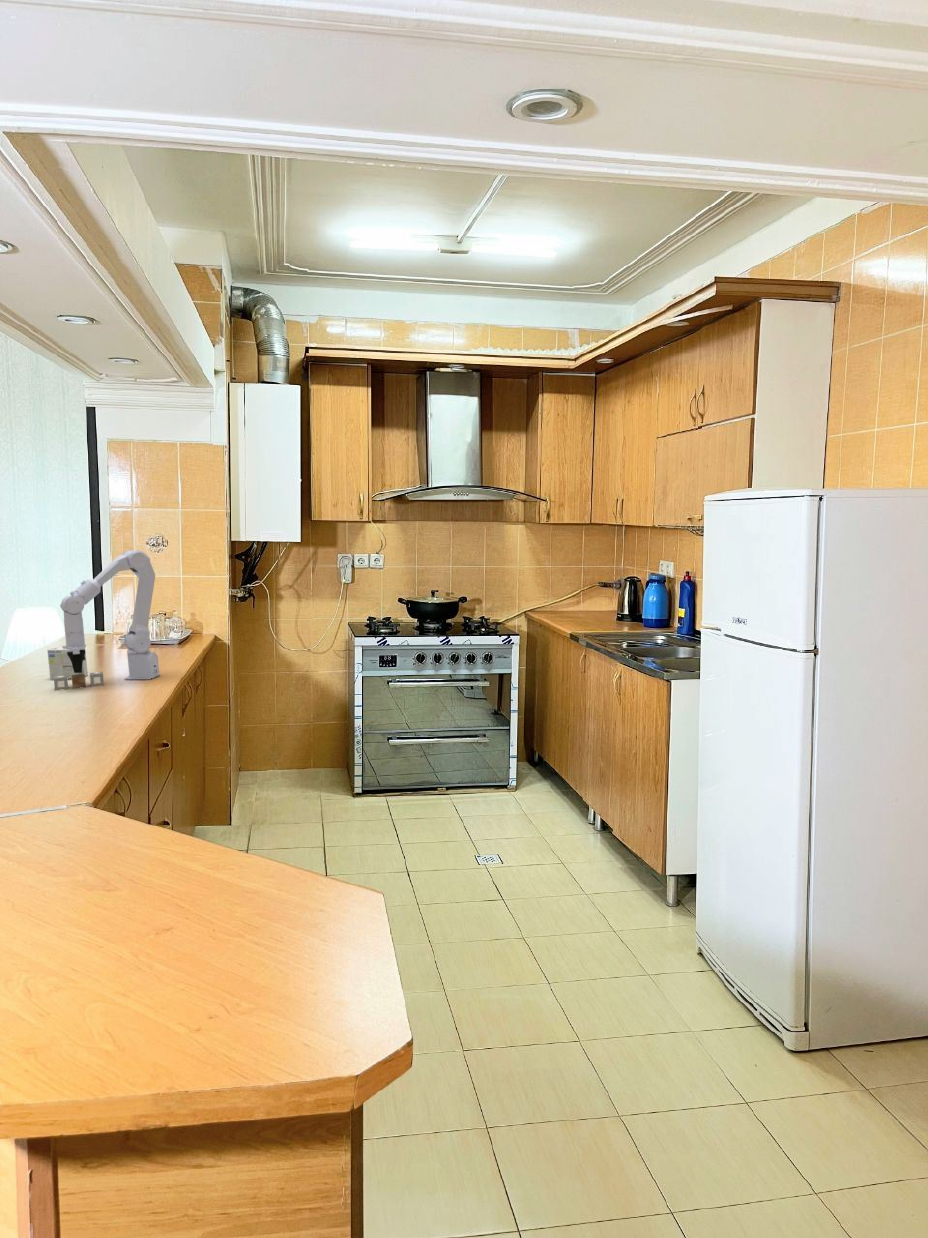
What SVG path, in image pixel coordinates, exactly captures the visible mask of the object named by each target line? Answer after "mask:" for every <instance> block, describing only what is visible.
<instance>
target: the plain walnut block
mask: <svg viewBox="0 0 928 1238" xmlns="http://www.w3.org/2000/svg"><path fill="white" fill-rule="evenodd" d="M71 682H72V683H71V684H72V689H73V688H74V689H81V688H80V687H83V688H87V685H86V684H87V683H86V676H85V674H76V675H72V679H71Z"/></svg>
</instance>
